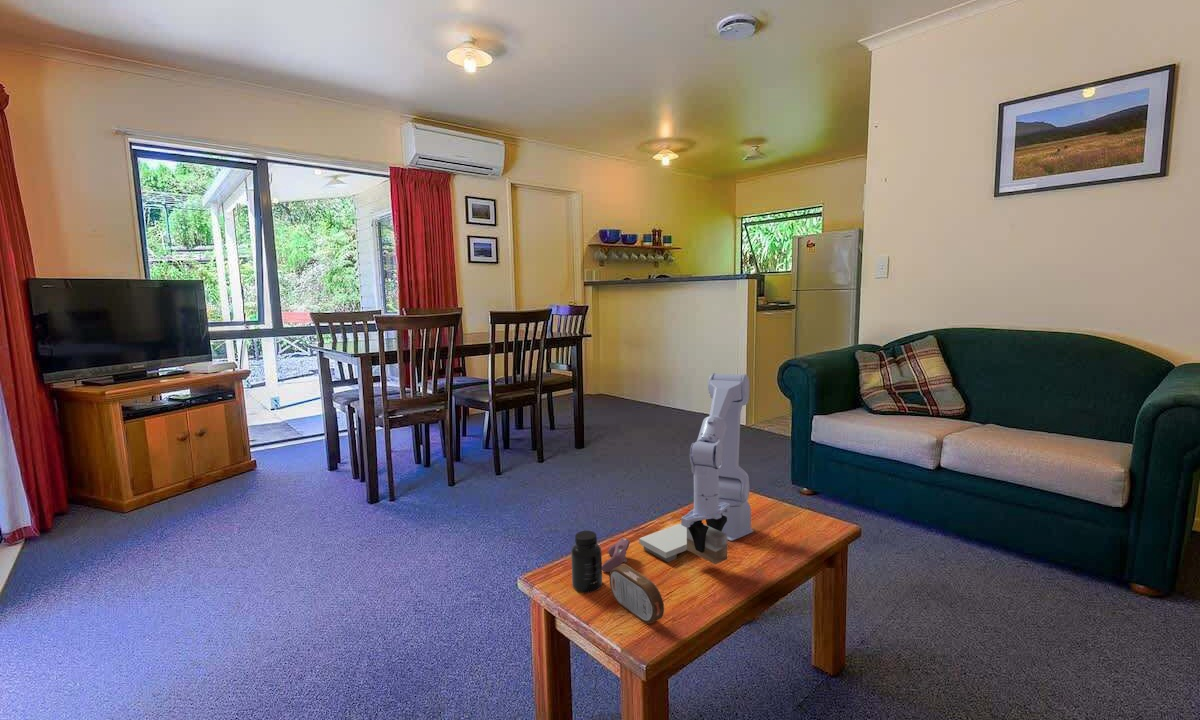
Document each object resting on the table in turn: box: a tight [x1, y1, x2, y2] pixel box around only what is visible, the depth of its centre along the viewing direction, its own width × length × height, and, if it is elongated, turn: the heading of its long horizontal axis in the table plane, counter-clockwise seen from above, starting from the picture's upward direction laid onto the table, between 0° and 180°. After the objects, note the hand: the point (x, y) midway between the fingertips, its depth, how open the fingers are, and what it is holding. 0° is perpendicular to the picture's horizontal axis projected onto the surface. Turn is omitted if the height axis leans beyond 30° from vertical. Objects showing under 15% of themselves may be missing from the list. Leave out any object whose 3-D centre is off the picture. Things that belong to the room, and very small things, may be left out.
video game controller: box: [602, 537, 631, 573], centre depth 127 cm, size 10×5×7 cm, turn 169°
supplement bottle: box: [570, 530, 603, 594], centre depth 117 cm, size 7×7×12 cm
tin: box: [609, 563, 665, 625], centre depth 107 cm, size 15×3×8 cm, turn 35°
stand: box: [638, 522, 688, 563], centre depth 136 cm, size 19×10×3 cm, turn 126°
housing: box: [686, 523, 728, 565], centre depth 123 cm, size 4×9×6 cm, turn 36°
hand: (706, 548), depth 123 cm, fingers closed on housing, 4 cm apart
